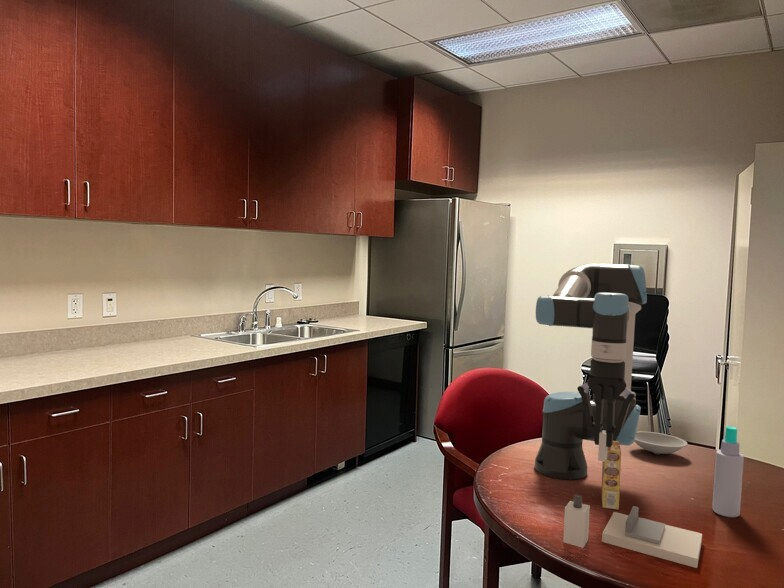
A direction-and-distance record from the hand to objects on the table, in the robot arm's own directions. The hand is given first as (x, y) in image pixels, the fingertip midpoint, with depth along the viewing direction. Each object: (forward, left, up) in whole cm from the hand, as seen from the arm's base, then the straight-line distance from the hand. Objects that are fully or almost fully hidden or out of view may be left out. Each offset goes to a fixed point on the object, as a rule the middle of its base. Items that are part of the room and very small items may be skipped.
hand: (602, 459), depth 134 cm
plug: (-3, -9, -17) cm, 19 cm away
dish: (+4, +66, -17) cm, 68 cm away
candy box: (-1, +17, -17) cm, 24 cm away
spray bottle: (+25, +28, -17) cm, 41 cm away
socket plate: (+11, 0, -17) cm, 20 cm away
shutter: (+10, 0, -15) cm, 18 cm away
